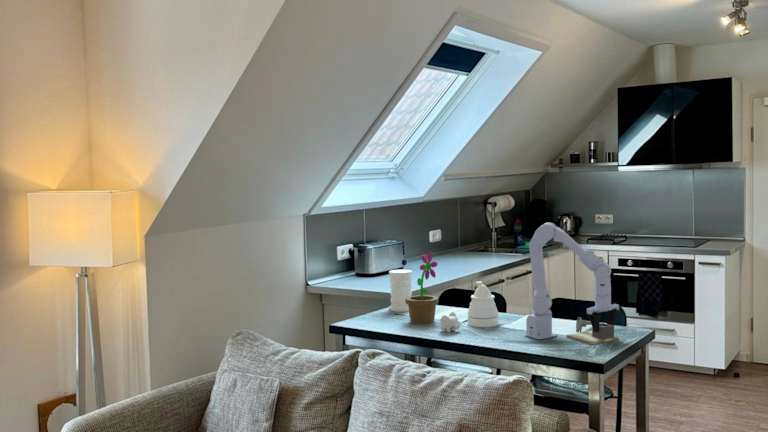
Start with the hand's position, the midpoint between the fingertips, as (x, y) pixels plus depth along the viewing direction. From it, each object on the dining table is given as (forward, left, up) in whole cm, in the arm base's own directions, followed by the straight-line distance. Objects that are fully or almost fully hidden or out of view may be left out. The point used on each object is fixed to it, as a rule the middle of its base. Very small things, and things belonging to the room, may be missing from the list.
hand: (603, 330), depth 279 cm
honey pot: (-21, +48, -4) cm, 53 cm away
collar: (0, 0, -2) cm, 2 cm away
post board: (-2, +4, -3) cm, 5 cm away
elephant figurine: (-40, +44, -4) cm, 60 cm away
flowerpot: (-40, +66, -4) cm, 77 cm away
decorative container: (-34, +94, -4) cm, 101 cm away
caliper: (+9, +17, -4) cm, 20 cm away
